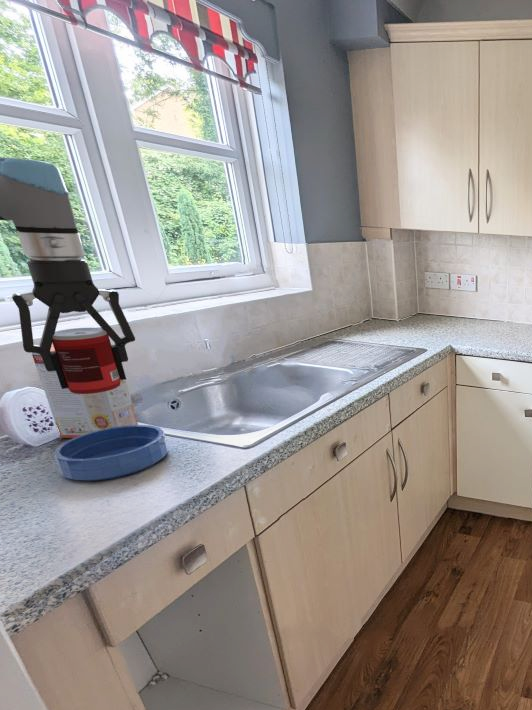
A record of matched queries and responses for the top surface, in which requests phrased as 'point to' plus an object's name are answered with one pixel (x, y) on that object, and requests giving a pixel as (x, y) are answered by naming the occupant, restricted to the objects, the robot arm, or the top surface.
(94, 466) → the bowl
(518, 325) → the top surface
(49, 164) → the robot arm
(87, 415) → the cracker box
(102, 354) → the canned food
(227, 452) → the top surface
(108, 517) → the top surface
